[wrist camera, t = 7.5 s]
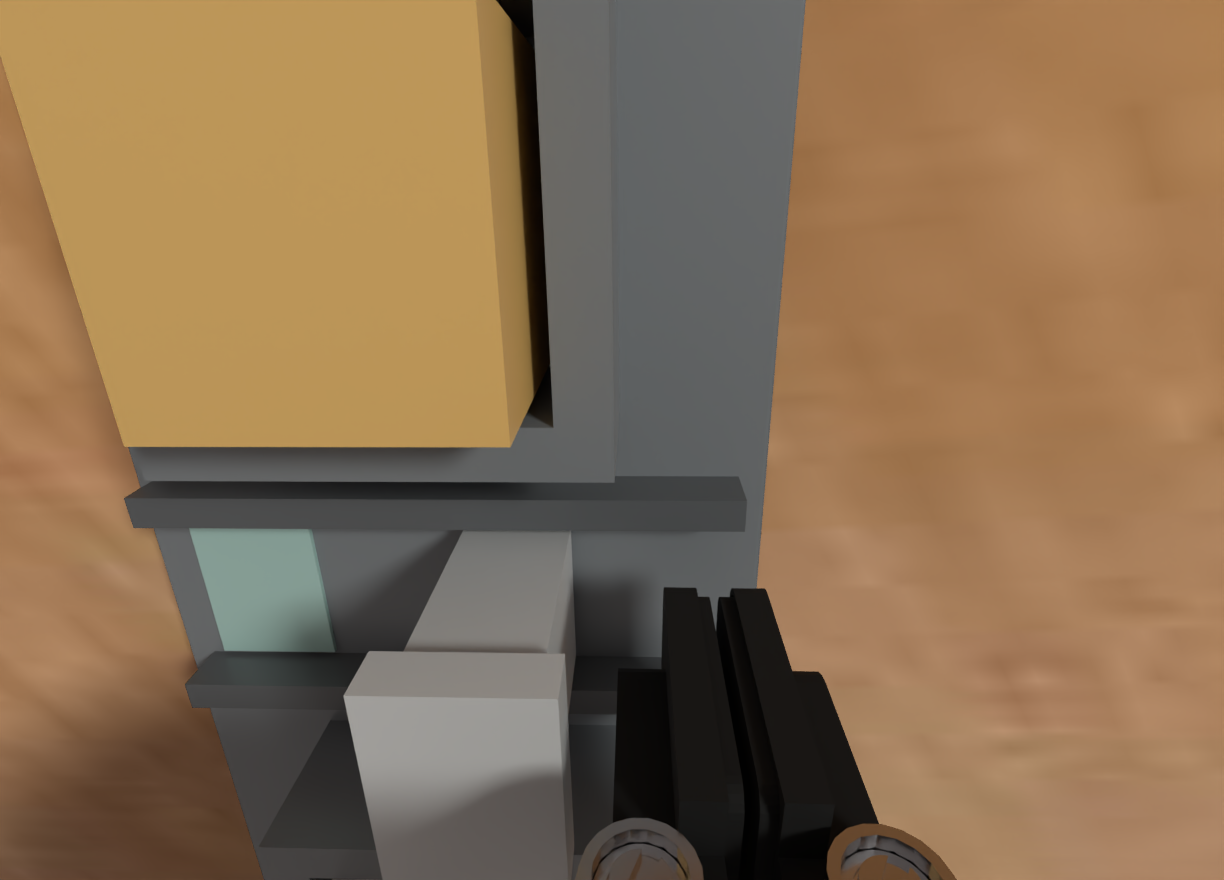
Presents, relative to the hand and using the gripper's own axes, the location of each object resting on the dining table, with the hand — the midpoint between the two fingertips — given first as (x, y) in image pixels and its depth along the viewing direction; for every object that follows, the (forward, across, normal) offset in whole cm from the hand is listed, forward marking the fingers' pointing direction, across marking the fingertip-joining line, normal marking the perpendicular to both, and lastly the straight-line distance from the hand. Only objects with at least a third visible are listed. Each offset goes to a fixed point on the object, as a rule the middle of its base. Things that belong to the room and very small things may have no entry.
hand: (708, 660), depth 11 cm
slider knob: (+2, +3, 0) cm, 4 cm away
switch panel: (+3, +5, 0) cm, 6 cm away
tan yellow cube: (+2, +5, -7) cm, 9 cm away
